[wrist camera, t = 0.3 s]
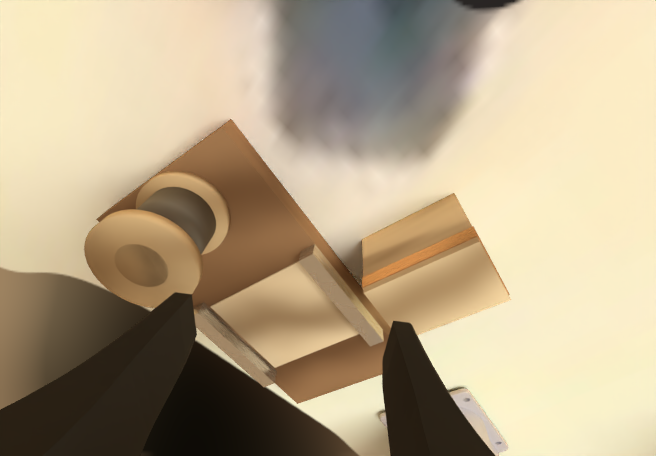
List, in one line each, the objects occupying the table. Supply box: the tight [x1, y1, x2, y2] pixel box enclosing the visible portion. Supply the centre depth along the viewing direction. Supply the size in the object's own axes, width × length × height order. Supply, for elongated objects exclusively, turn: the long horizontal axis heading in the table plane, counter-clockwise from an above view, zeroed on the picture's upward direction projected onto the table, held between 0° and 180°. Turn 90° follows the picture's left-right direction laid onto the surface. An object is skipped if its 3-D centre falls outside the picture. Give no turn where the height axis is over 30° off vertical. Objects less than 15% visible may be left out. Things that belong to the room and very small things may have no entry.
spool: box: [84, 171, 231, 308], centre depth 18 cm, size 5×5×5 cm
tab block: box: [362, 193, 511, 335], centre depth 20 cm, size 4×6×5 cm
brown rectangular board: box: [96, 120, 391, 404], centre depth 24 cm, size 20×10×2 cm, turn 34°
